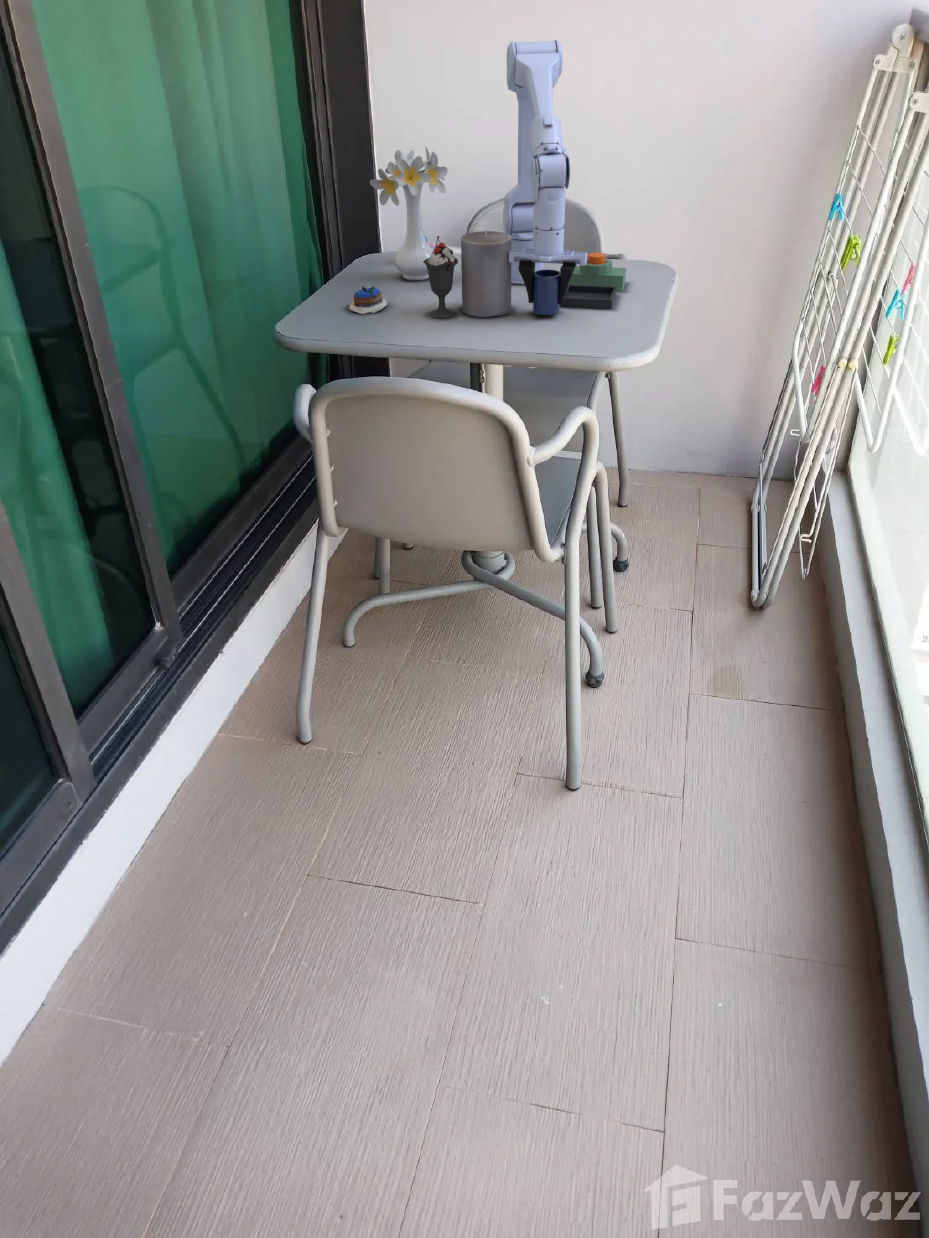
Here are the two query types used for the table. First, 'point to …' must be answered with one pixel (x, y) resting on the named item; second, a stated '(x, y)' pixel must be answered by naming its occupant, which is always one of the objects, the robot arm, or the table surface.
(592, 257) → the button
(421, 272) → the flower vase
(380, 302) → the dessert
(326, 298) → the table surface
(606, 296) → the tray
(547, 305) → the cup
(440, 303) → the sundae
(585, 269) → the green button base
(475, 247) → the pillar candle
